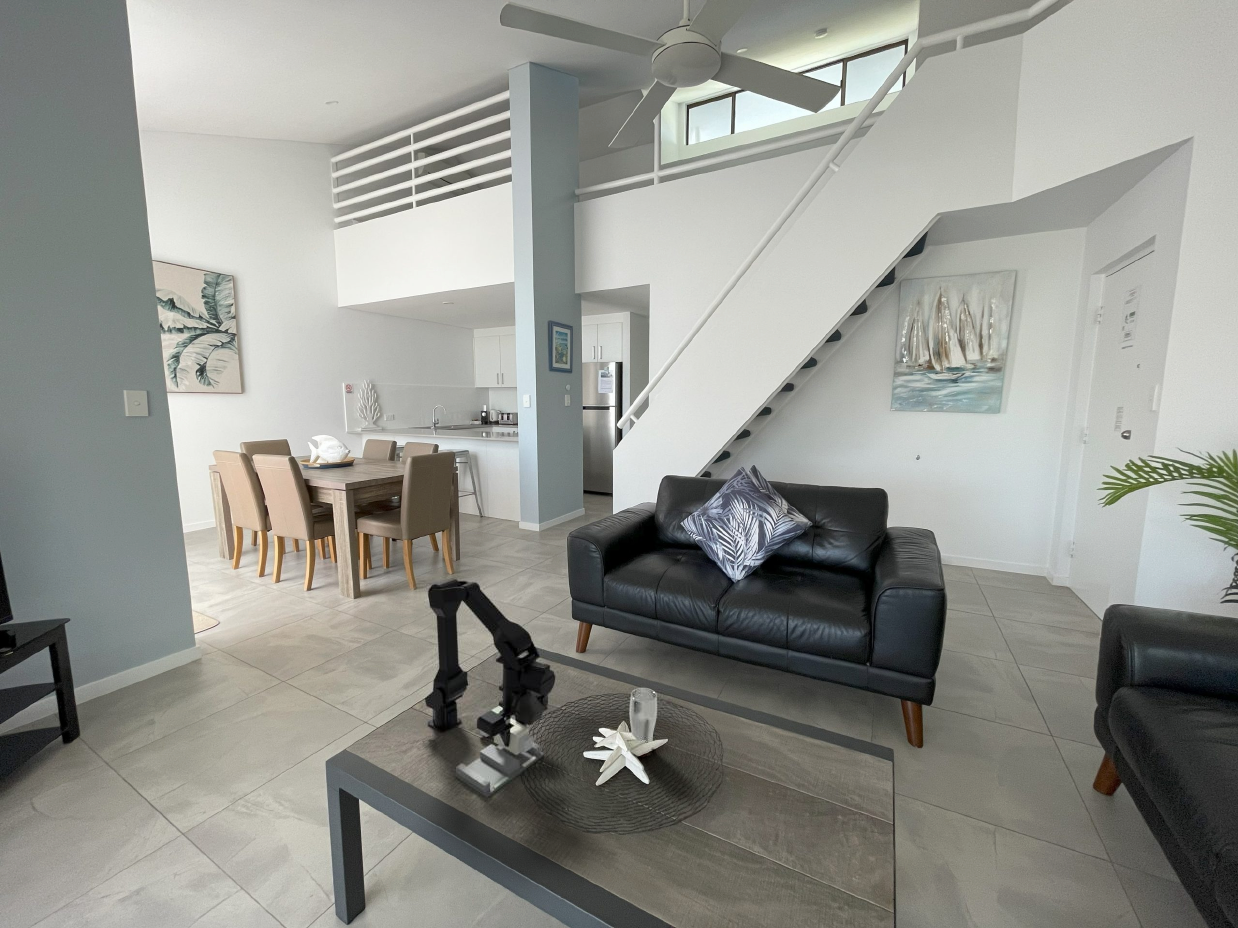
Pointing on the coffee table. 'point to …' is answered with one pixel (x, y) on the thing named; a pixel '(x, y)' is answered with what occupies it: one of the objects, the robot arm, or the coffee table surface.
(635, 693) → the beer glass
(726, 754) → the coffee table surface
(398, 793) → the coffee table surface
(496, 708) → the sage plug
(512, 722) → the cream plug
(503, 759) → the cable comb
